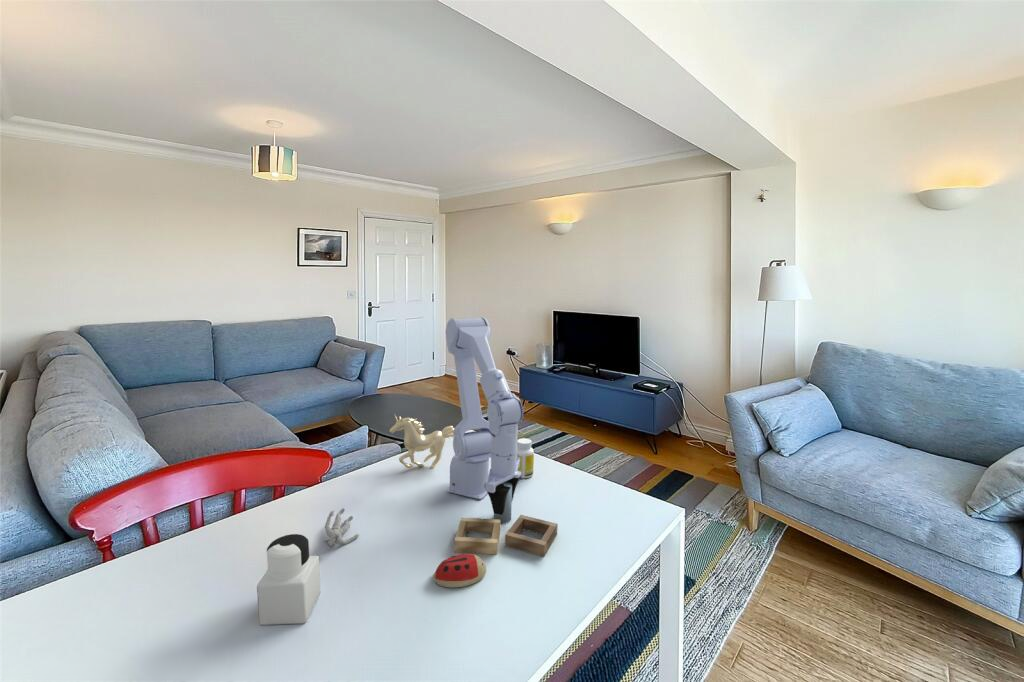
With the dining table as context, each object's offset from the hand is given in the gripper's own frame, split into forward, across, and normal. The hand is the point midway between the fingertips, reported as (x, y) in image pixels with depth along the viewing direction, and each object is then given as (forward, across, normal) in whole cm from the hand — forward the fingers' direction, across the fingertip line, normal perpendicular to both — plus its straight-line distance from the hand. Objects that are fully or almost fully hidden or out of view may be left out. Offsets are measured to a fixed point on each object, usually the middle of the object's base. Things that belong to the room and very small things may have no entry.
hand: (502, 508), depth 103 cm
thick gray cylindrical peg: (+2, 0, 0) cm, 2 cm away
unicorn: (+3, +15, +31) cm, 34 cm away
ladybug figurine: (+3, -21, -1) cm, 21 cm away
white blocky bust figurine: (+3, -40, +20) cm, 45 cm away
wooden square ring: (+2, -5, -9) cm, 11 cm away
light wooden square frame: (+2, -10, +1) cm, 10 cm away
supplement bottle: (+3, +23, +4) cm, 24 cm away
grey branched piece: (+3, -21, +28) cm, 35 cm away
